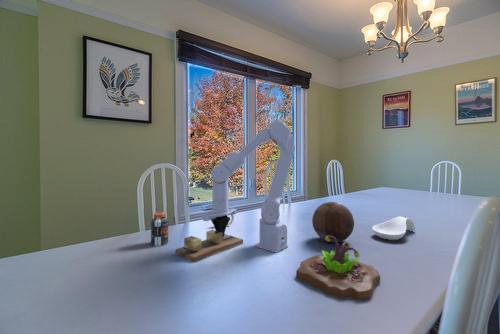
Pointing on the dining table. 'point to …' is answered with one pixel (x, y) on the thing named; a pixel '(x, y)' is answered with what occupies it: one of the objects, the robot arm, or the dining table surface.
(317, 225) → the wooden sphere
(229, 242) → the flat brown board
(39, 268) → the dining table surface
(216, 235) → the block
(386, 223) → the spoon rest
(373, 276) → the plant
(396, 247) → the dining table surface
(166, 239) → the pill bottle
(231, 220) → the ring
